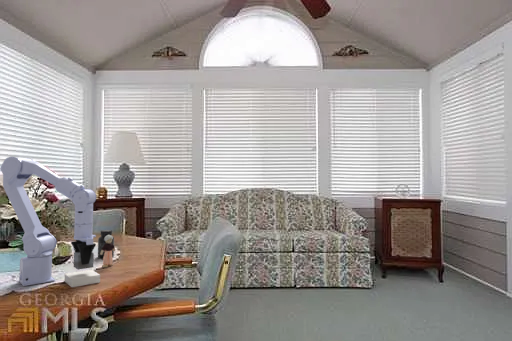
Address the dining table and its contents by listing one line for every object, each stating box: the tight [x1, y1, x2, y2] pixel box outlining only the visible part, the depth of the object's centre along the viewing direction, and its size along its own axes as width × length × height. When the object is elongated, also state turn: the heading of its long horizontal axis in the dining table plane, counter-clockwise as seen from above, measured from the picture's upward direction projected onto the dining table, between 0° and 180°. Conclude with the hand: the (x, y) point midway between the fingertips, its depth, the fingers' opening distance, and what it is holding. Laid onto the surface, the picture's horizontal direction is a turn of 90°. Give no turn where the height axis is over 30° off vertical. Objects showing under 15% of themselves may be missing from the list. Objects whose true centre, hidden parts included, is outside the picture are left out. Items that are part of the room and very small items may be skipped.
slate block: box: [73, 251, 95, 271], centre depth 124 cm, size 5×5×5 cm
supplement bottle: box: [97, 229, 115, 259], centre depth 162 cm, size 7×7×12 cm
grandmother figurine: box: [100, 235, 116, 268], centre depth 146 cm, size 8×4×13 cm, turn 168°
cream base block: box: [63, 269, 101, 288], centre depth 123 cm, size 9×9×3 cm
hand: (82, 262), depth 123 cm, fingers closed on slate block, 5 cm apart
